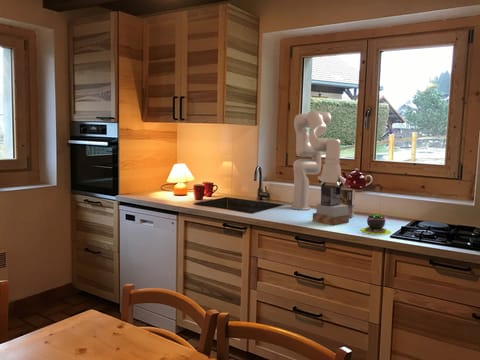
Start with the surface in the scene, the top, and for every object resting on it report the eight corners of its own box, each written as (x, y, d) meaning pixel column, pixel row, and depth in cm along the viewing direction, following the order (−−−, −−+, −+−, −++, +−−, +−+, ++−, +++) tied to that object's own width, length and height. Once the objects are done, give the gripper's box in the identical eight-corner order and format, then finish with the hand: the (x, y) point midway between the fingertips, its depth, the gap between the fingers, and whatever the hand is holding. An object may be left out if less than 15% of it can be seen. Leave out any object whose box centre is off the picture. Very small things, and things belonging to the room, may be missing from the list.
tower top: (316, 213, 242) (316, 204, 241) (330, 211, 249) (331, 202, 249) (333, 216, 232) (334, 207, 232) (347, 214, 240) (348, 205, 239)
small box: (330, 203, 247) (331, 184, 246) (340, 204, 242) (341, 185, 241) (319, 205, 239) (320, 185, 238) (330, 206, 235) (331, 186, 233)
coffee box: (354, 216, 261) (355, 189, 259) (351, 218, 255) (353, 190, 253) (338, 214, 265) (340, 188, 263) (335, 216, 259) (337, 189, 258)
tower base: (312, 222, 242) (312, 213, 241) (327, 219, 251) (327, 210, 251) (333, 226, 232) (334, 217, 231) (348, 223, 241) (349, 214, 241)
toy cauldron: (367, 227, 232) (369, 206, 231) (395, 231, 222) (397, 210, 221) (354, 231, 221) (356, 209, 219) (383, 236, 211) (385, 213, 210)
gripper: (315, 161, 242) (313, 192, 244) (342, 163, 230) (340, 196, 232) (323, 160, 247) (321, 191, 249) (350, 163, 235) (348, 194, 237)
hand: (330, 193), depth 240 cm, fingers open, 9 cm apart
